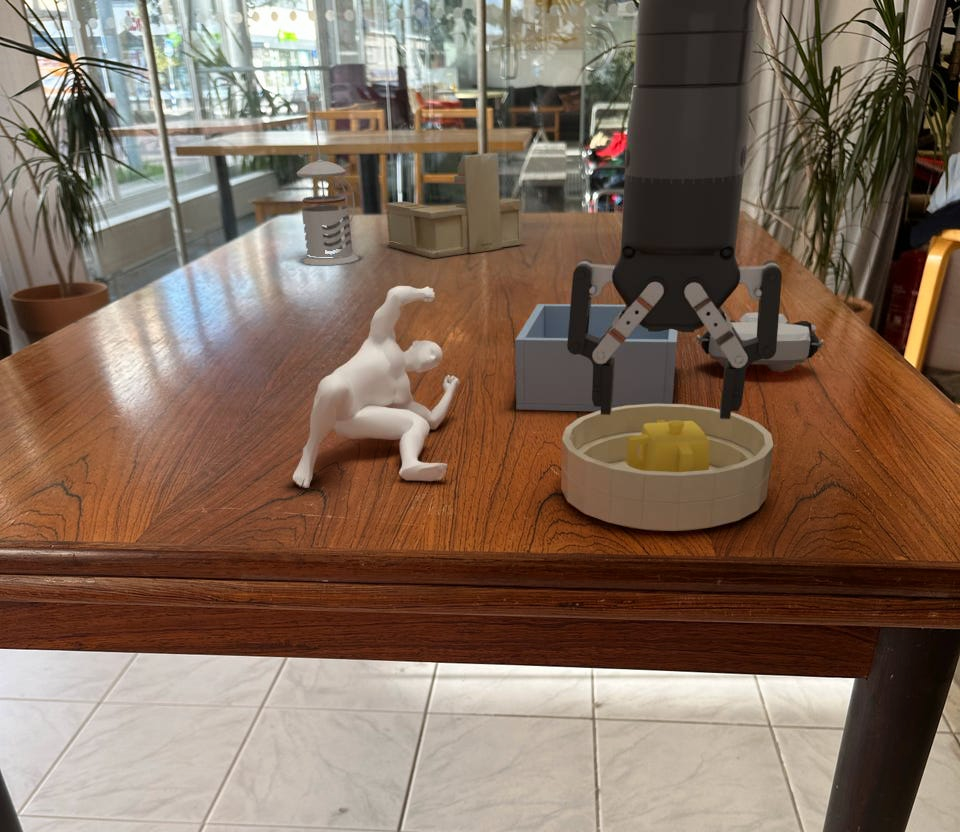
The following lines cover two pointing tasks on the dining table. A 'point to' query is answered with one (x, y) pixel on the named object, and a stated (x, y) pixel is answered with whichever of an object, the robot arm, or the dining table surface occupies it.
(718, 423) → the bowl
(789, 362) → the robot toy
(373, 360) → the person figurine
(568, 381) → the bin
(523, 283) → the dining table surface
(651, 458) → the teapot
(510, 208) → the toy kitchen set
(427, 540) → the dining table surface
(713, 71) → the robot arm
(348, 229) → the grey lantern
